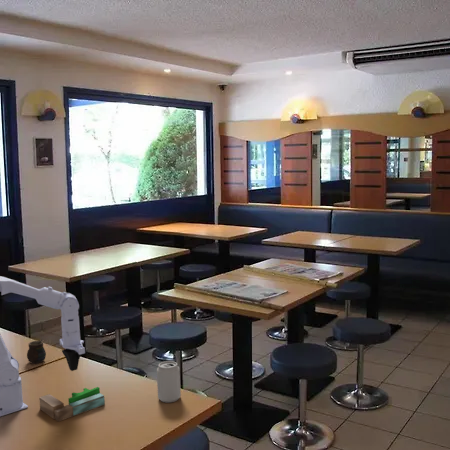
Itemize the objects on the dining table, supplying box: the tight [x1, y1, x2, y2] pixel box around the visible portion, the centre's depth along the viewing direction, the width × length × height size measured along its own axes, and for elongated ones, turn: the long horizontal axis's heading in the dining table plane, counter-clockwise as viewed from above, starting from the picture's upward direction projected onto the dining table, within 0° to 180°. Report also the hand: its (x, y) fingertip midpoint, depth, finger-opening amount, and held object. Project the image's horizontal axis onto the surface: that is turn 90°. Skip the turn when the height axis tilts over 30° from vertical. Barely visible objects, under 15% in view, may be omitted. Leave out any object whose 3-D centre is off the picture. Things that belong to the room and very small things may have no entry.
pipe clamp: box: [68, 386, 101, 405], centre depth 178 cm, size 11×4×5 cm, turn 139°
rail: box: [54, 392, 106, 422], centre depth 173 cm, size 16×3×3 cm, turn 132°
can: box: [156, 360, 182, 404], centre depth 180 cm, size 8×8×12 cm
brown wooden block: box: [39, 393, 65, 420], centre depth 173 cm, size 4×10×4 cm, turn 42°
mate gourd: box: [26, 339, 47, 365], centre depth 219 cm, size 7×8×10 cm
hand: (73, 369), depth 184 cm, fingers closed
